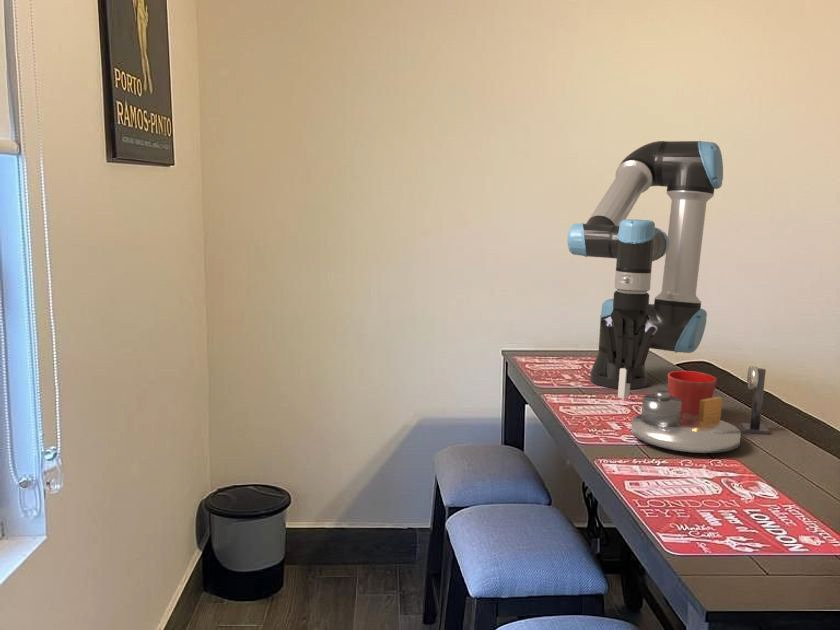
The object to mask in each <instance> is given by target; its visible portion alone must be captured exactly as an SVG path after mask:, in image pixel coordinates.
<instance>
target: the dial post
mask: <svg viewBox="0 0 840 630" xmlns="http://www.w3.org/2000/svg"><path fill="white" fill-rule="evenodd" d="M766 373H767V372H766V368H762V367H761V368H758V367H757V366H755V365H754V366H749V368H748V370H747V376H746V377H747V379H746V380H747V381H746V382H747V383H746V384H747V388H748V389H749V390H753V392H752V393H753V395H752V405H751V413H750V414H751V416H750V422H749V423H748V422H747V423H745V422H740V428H741V429H742V430H743V432H744V433H745V434H756V435H768V436H769V435H770V430H769V429H768V428H767V426H766V425H765V424H761V420H762V411H763V402H764V401H763V400H764V391H765V380H766Z"/></svg>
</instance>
